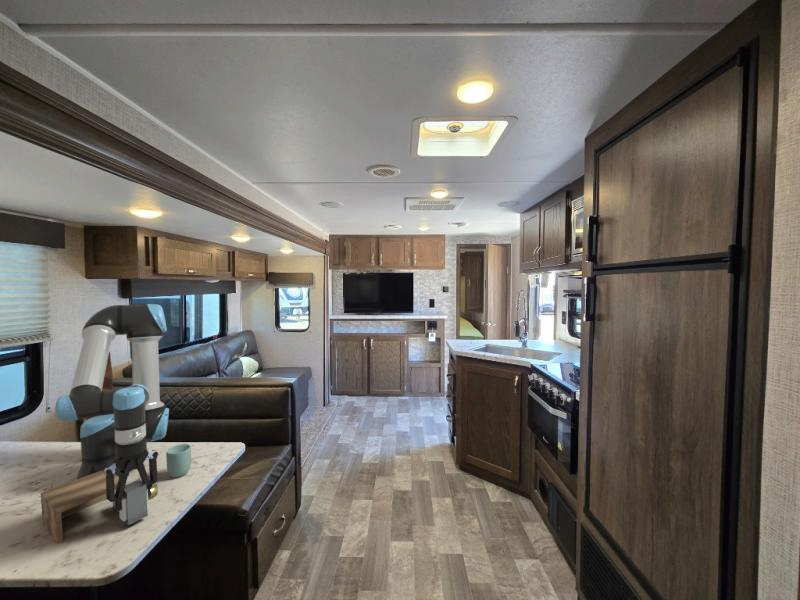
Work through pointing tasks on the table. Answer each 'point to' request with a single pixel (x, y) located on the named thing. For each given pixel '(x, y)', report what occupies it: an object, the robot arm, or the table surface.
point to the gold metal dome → (153, 491)
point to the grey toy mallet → (135, 501)
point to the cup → (178, 460)
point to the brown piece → (72, 500)
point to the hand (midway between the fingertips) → (134, 513)
